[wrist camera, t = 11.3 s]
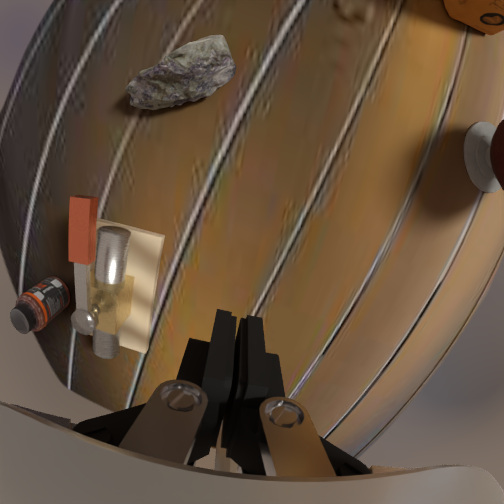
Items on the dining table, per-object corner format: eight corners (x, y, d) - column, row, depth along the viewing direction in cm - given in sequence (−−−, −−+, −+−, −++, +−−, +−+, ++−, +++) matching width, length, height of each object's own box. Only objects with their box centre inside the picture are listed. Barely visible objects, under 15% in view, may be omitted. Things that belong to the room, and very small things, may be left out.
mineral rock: (134, 111, 35) (102, 96, 25) (150, 42, 32) (125, 12, 23) (227, 119, 36) (220, 102, 26) (241, 47, 33) (239, 13, 23)
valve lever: (99, 330, 32) (94, 338, 31) (78, 324, 32) (72, 331, 31) (100, 197, 28) (92, 199, 26) (76, 194, 28) (67, 196, 26)
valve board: (148, 348, 45) (145, 353, 43) (83, 326, 44) (79, 331, 42) (164, 235, 40) (161, 237, 38) (90, 216, 39) (85, 218, 37)
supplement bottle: (58, 268, 41) (17, 295, 30) (77, 299, 42) (40, 333, 31) (39, 284, 42) (0, 311, 31) (57, 313, 43) (22, 345, 32)
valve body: (128, 348, 43) (109, 380, 35) (95, 336, 42) (72, 365, 34) (141, 232, 38) (115, 248, 30) (102, 222, 38) (71, 236, 29)
